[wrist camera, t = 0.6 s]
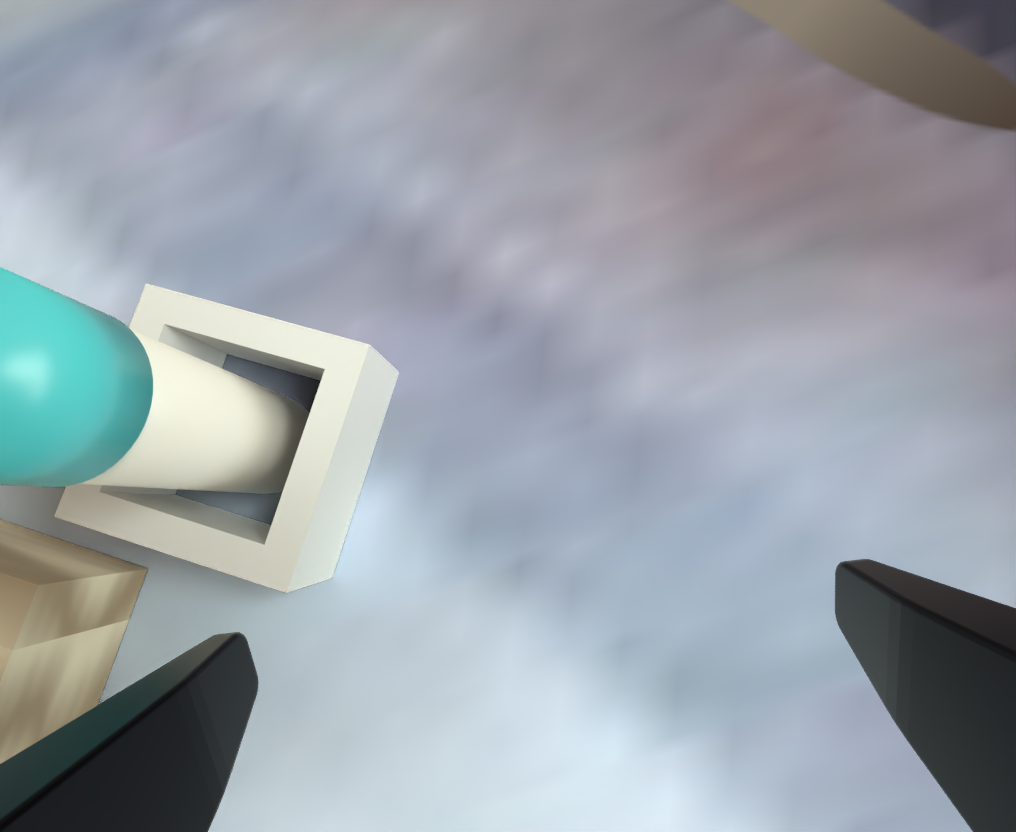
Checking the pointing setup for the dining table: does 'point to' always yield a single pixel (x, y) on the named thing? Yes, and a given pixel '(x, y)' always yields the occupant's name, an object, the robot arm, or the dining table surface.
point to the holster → (315, 469)
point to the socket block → (56, 631)
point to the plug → (128, 406)
